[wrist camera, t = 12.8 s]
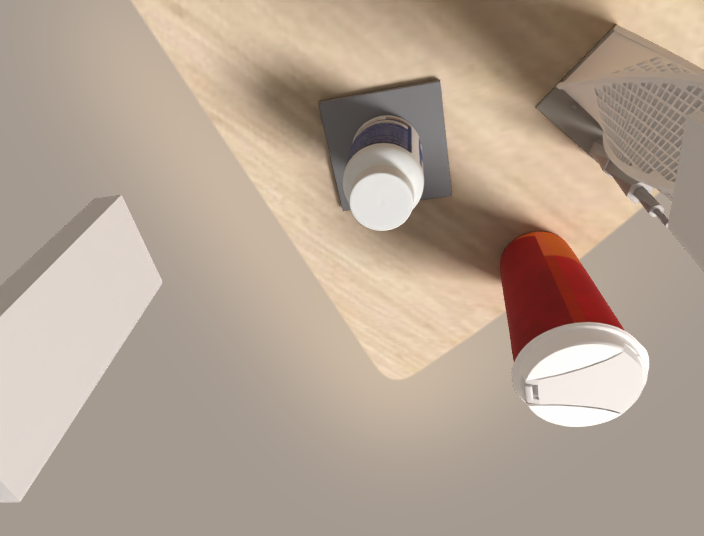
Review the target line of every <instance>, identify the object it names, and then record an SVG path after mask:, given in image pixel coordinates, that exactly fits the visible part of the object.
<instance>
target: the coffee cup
mask: <svg viewBox="0 0 704 536" xmlns="http://www.w3.org/2000/svg"><path fill="white" fill-rule="evenodd" d="M500 271H501V280H502V287H503V294H504V300H505V307H506V313H507V319H508V326H509V332H510V339H511V347H512V354H513V360H514V364H513V368H512V382H513V387H514V389H515V390H516V393H517V394H518V396H519V397H520V398H521V399H522V400H523V401H524V402H525V403H526V404H527V405H528V407H529V408H530V409H531V410H532V411H533V412H534V413H535V414H536V415H538V416H539V417H541V418H542V419H544V420H546V421H548V422H551V423H555V424H557V425H563V426H571V427H583V426H591V425H596V424H600V423H604V422H607V421H609V420H612V419H614V418H616V417H618V416H620V415H621V414H623V413H624V412H625V411H626V410H627V409H628V408H630V407H631V405H633V404H634V403H635V401H636V400H637V399H638V398H639V396H640V394H641V392H642V389H643V387H644V386H645V384H646V382H647V376H648V369H649V357H648V354H647V350H645V348H644V347H643V346H642V345H641V344H640V343H639V342H638V341H637V340H636V339H635V338H634V337H633V336H632V335H630V334H629V333H628V332H626V331H625V330H624V329H623V327H622V326H621V324H620V323H619V321H618V319H617V318H616V316H615V315H614V313H613V312H612V310H611V309H610V307H609V306H608V304H607V302H606V301H605V299H604V298H603V296H602V295H601V293H600V292H599V290H598V289H597V287H596V285H595V284H594V282H593V281H592V279H591V278H590V276H589V275H588V273H587V272H586V270H585V269H584V267H583V266H582V264H581V263H580V261H579V260H578V258H577V257H576V255H575V254H574V252H573V251H572V249H571V248H570V247H569V245H568V244H567V243H566V242H565V241H564V240H563V239H562V238H561V237H559V236H557V235H555V234H553V233H549V232H543V231H538V232H530V233H527V234H524V235H521V236H519V237H518V238H516V239H514V240H513V241H512V242H511V243H510V244H509V245H508V246H507V247H506V248H505V250H504V252H503V254H502V256H501V261H500Z"/></svg>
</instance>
